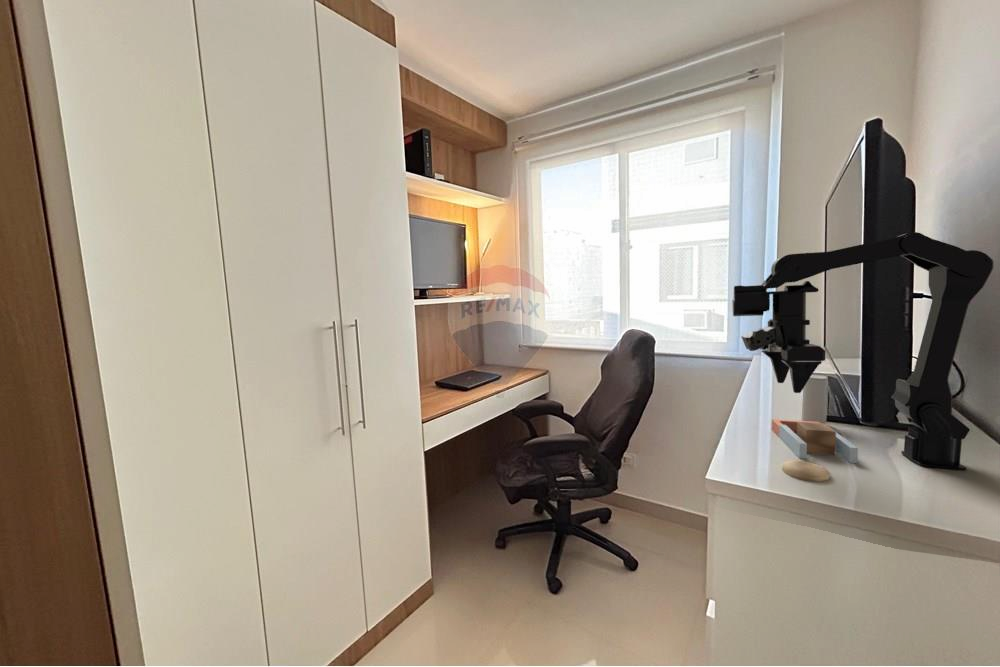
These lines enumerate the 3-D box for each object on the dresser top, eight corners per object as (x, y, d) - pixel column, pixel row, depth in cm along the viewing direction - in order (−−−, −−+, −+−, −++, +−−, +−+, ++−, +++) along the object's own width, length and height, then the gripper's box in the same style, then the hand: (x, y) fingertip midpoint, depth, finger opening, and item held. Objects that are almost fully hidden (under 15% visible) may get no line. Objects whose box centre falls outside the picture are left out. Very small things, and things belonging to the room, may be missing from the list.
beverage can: (830, 427, 96) (832, 378, 95) (807, 426, 97) (809, 378, 96) (818, 421, 101) (821, 374, 100) (797, 420, 102) (799, 374, 101)
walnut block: (823, 446, 86) (824, 423, 85) (834, 455, 81) (835, 431, 80) (796, 444, 87) (797, 422, 87) (805, 453, 83) (806, 429, 82)
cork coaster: (819, 466, 76) (820, 462, 76) (837, 483, 69) (837, 479, 69) (776, 462, 78) (777, 458, 78) (789, 478, 72) (789, 474, 72)
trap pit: (818, 432, 93) (818, 421, 93) (828, 440, 88) (829, 429, 88) (771, 429, 96) (771, 419, 96) (779, 437, 91) (779, 426, 91)
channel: (828, 440, 88) (829, 427, 88) (857, 463, 77) (858, 448, 77) (779, 437, 91) (779, 424, 91) (799, 458, 80) (799, 443, 80)
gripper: (734, 314, 96) (734, 378, 97) (758, 319, 78) (758, 397, 79) (788, 312, 92) (788, 378, 94) (827, 317, 75) (826, 399, 76)
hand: (788, 387), depth 86 cm, fingers open, 9 cm apart
